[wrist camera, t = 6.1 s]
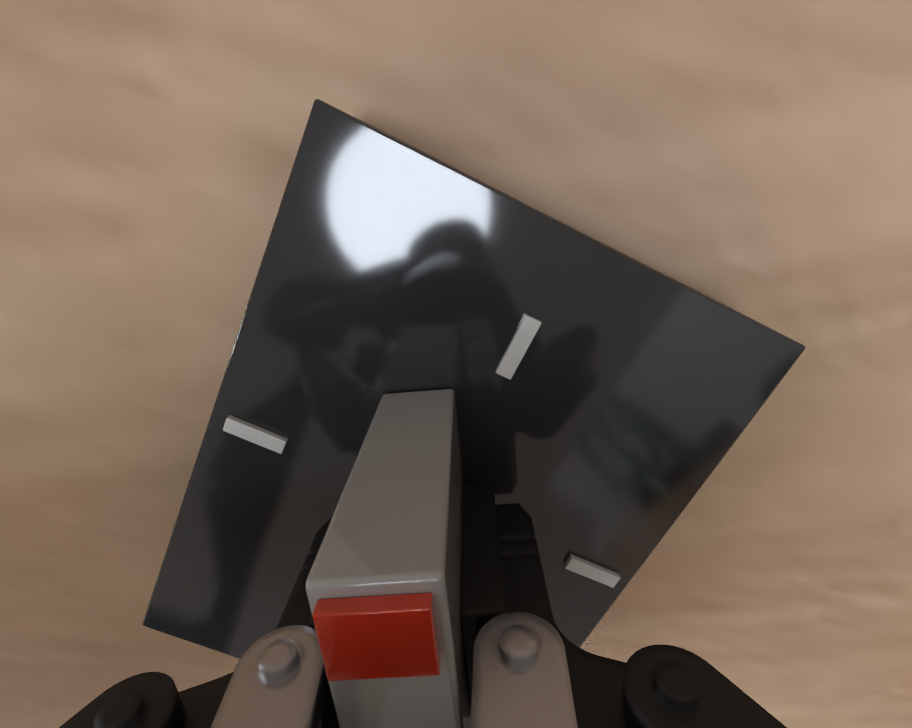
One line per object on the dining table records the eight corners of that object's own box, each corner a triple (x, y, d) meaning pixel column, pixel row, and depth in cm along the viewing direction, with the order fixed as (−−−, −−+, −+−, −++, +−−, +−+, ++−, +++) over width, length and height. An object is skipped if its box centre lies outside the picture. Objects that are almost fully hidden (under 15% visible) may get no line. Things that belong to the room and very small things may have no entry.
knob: (475, 601, 12) (483, 915, 7) (413, 604, 12) (375, 917, 7) (454, 386, 10) (442, 592, 5) (381, 392, 10) (294, 601, 5)
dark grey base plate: (497, 658, 17) (503, 755, 14) (199, 548, 16) (137, 631, 13) (732, 313, 13) (812, 349, 10) (351, 120, 11) (311, 95, 8)
